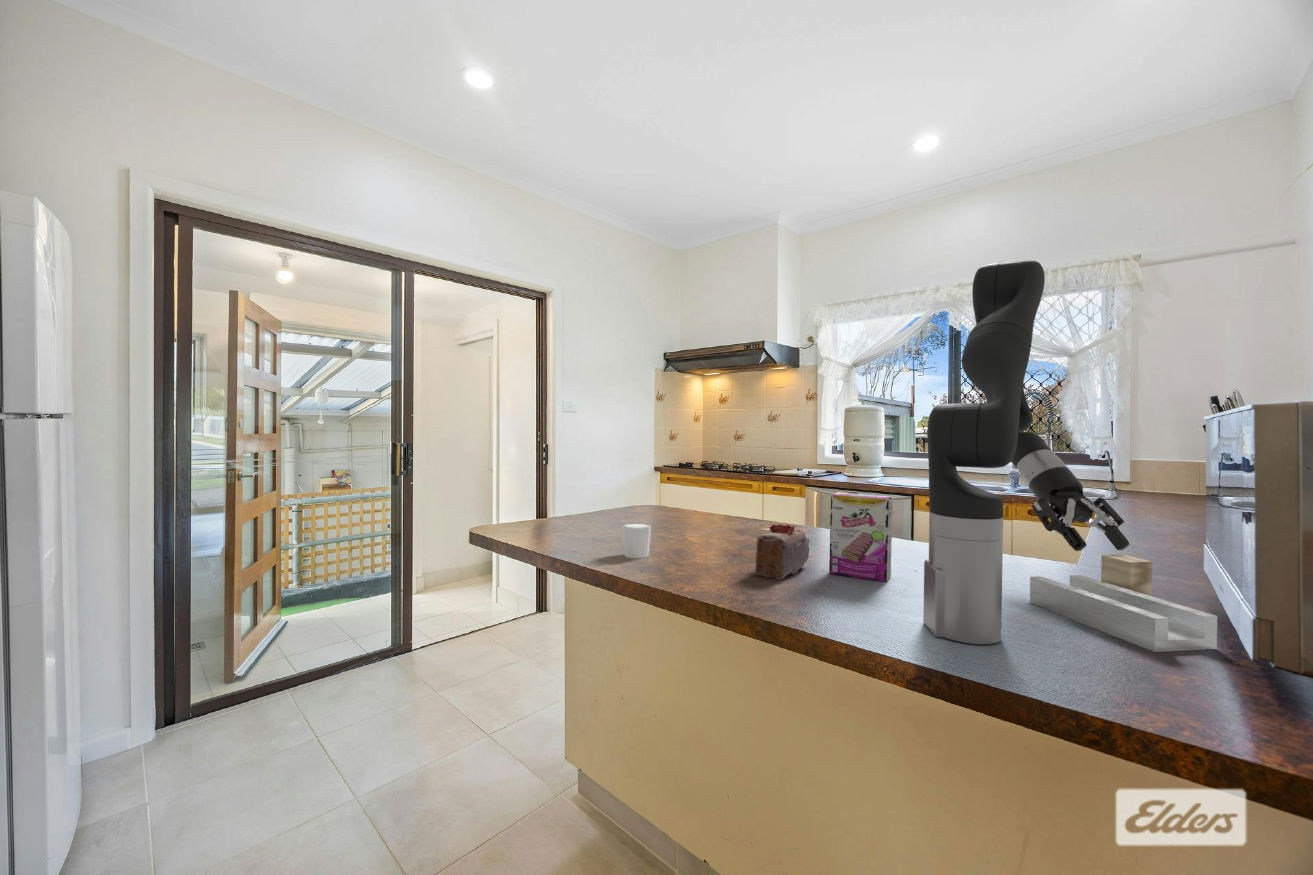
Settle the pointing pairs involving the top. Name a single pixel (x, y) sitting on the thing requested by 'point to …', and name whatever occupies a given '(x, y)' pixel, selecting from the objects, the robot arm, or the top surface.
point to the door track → (1127, 614)
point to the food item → (781, 552)
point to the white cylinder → (636, 540)
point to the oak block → (1127, 573)
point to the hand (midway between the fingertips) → (1103, 548)
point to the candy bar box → (861, 536)
